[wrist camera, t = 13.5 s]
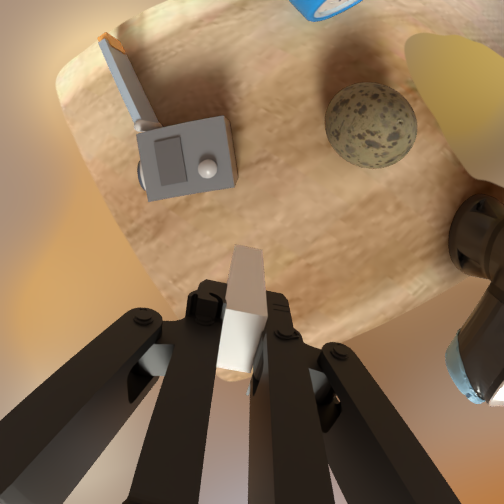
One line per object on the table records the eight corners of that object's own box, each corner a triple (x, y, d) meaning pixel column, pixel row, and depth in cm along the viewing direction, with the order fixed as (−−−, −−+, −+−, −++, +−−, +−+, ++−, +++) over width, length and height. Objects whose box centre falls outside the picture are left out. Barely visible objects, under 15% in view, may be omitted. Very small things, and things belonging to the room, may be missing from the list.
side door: (115, 49, 32) (92, 35, 25) (123, 43, 32) (101, 29, 25) (155, 134, 38) (136, 133, 31) (164, 129, 37) (146, 127, 30)
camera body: (229, 121, 37) (223, 114, 28) (238, 178, 40) (234, 188, 31) (150, 137, 38) (122, 137, 29) (159, 191, 41) (135, 205, 32)
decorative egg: (307, 96, 36) (337, 72, 22) (377, 88, 35) (431, 69, 21) (324, 170, 40) (361, 185, 26) (391, 158, 39) (450, 169, 25)
